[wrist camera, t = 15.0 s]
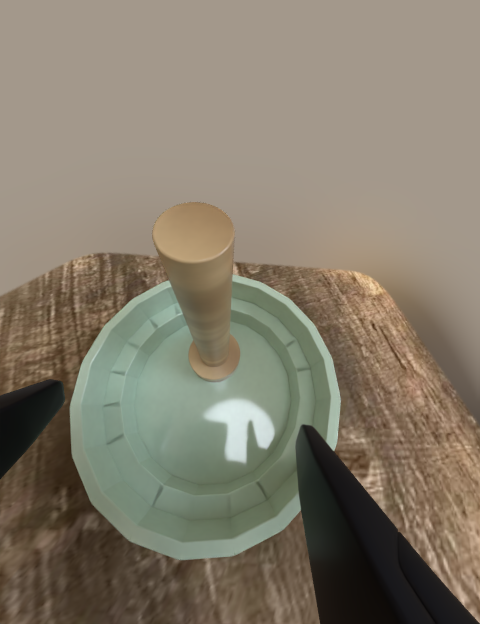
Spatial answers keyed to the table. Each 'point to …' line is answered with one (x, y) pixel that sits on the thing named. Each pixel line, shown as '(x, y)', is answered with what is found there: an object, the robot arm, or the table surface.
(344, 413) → the table surface
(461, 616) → the robot arm
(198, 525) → the bowl
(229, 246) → the pestle
